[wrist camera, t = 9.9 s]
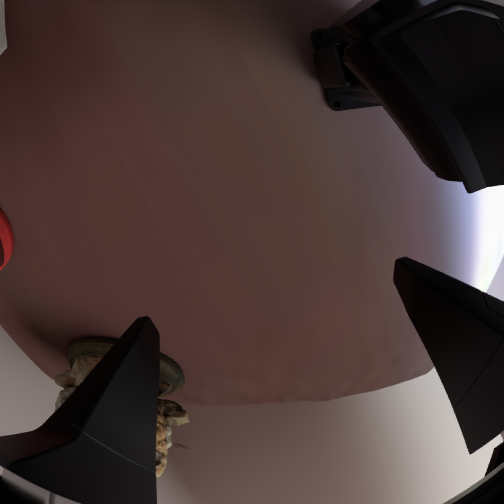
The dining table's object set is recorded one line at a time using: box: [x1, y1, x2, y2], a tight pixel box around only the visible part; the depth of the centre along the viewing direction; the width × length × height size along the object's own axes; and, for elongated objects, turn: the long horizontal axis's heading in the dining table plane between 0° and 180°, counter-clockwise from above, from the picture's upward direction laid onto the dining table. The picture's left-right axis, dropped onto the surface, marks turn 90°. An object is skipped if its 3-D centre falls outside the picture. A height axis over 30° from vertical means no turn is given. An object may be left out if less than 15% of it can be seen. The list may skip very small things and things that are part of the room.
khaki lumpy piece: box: [55, 337, 190, 477], centre depth 24 cm, size 18×12×17 cm, turn 86°
